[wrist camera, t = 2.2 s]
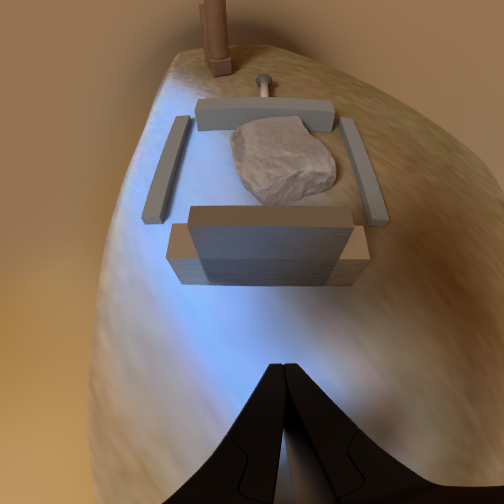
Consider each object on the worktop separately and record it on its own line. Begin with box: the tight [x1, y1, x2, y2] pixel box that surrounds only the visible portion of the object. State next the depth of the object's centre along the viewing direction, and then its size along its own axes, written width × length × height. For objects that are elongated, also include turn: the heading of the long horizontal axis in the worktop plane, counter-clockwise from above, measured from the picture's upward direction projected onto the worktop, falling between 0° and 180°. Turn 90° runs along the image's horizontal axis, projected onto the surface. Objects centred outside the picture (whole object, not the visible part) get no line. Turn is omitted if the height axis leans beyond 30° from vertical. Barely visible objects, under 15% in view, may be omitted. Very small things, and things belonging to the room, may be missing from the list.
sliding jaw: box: [166, 206, 370, 286], centre depth 21 cm, size 3×15×9 cm, turn 89°
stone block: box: [230, 116, 337, 206], centre depth 30 cm, size 12×5×10 cm
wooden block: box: [199, 0, 232, 77], centre depth 39 cm, size 4×11×18 cm, turn 16°
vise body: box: [141, 74, 389, 227], centre depth 33 cm, size 29×25×4 cm
